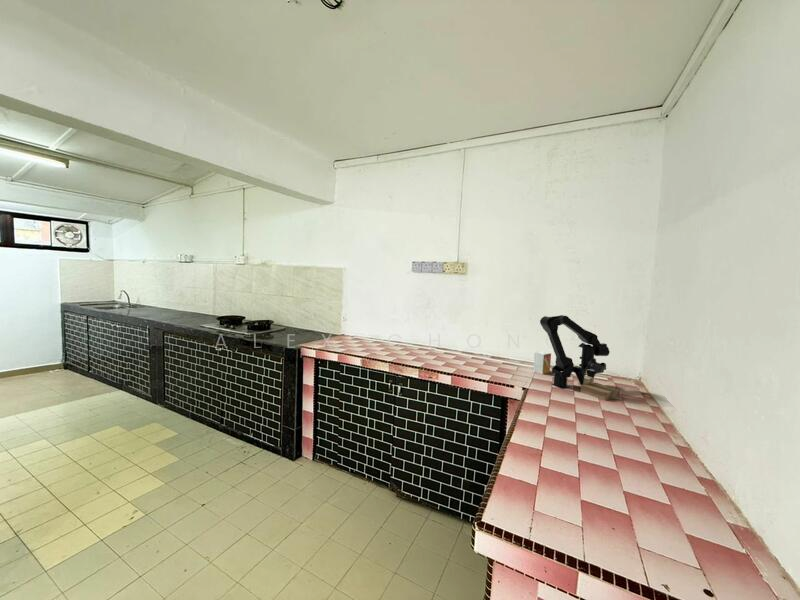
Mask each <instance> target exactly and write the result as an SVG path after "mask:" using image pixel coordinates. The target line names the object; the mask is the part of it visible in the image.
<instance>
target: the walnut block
mask: <svg viewBox="0 0 800 600" xmlns="http://www.w3.org/2000/svg"><path fill="white" fill-rule="evenodd" d="M580 393H582V394H586V395H588V396H591V397H594V398H596V399H600V400H602V401H608V400H614V399H617V398H621V397H620V396H621V395H620V394H621V390H620V389H618V388H615V387H612V386H608V385H605V384H602V383H599V382H596V381H594V382H593V383H590V384H584V385H581V386H580Z"/></svg>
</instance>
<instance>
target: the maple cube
mask: <svg viewBox="0 0 800 600" xmlns="http://www.w3.org/2000/svg"><path fill="white" fill-rule="evenodd" d="M594 380H595V377H594V378H592V377H588V376H587V375H585V376H584V382H583V385H584V384H590V383H595V381H594ZM578 386H580V387H581V385H580V382H579V381H578Z"/></svg>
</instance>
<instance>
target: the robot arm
mask: <svg viewBox="0 0 800 600" xmlns="http://www.w3.org/2000/svg"><path fill="white" fill-rule="evenodd" d="M539 324H540V326H541V327H542V329H543V330H544V331H545V332H546V334H547V336H548V338H549V341H550V344H551V346H552V349H553V352H554V355H555V365H554V366H553V367H552V368H550V371H551V373H552V374H553V375H554V377H553V383H551V384H550V385H552V386H554V387H557V388H559V389H567V388H570V385H568V378H571V375H572V373H574V374H575V376H576V377H577V380H578V383H579V382H580V385H583V382H584V376H588V377H592V378H594V379H595V377H596V375H597V374H603V373H604V372H605V371H606V370H607V364H606V363H605V362H597V359H596V358H595V357H607V356H609V355H610V349H609V347H608V344H607V343H605V342H604V343H603V342H602V343H601V342H600V340H599V339H598V335H597V334H596V333H593V332H592V331H589V330H586V329H585V328H583V327H581V326H580V325H579V324H577V323H576V322H575V321H573V320H572V319H571V318H570V317H569V316H568V315H563V314H561V315H555V316H553V315H552V316H546V315H545V316H543V317H541V318H540V320H539ZM560 326H565V327H566V328H568V329H569V330H570V331H572V332H573V333H574V334H576V335H577V336H578V339H579V340H580V341H581V343H580V344H578V348H581V356H579V360H581V361H580V363H579V364H578V365H575V364H574V363H573V359H572V358H571V357H569V356H567V355H566V352H565V349H564V346H563V344H562V341H561V338H560V335H559V333H558V331H559V327H560ZM580 385H579V386H580Z"/></svg>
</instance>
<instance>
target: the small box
mask: <svg viewBox="0 0 800 600" xmlns="http://www.w3.org/2000/svg"><path fill="white" fill-rule="evenodd" d="M533 354H534V355H533V356H534V357H533V369H532V370H533V372H535V373H538V374H541V375H545V374H549V373H551V362H552V361H551V358H552V353H551V352H547V351H542V350H541V351H536V352H534V353H533Z"/></svg>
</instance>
